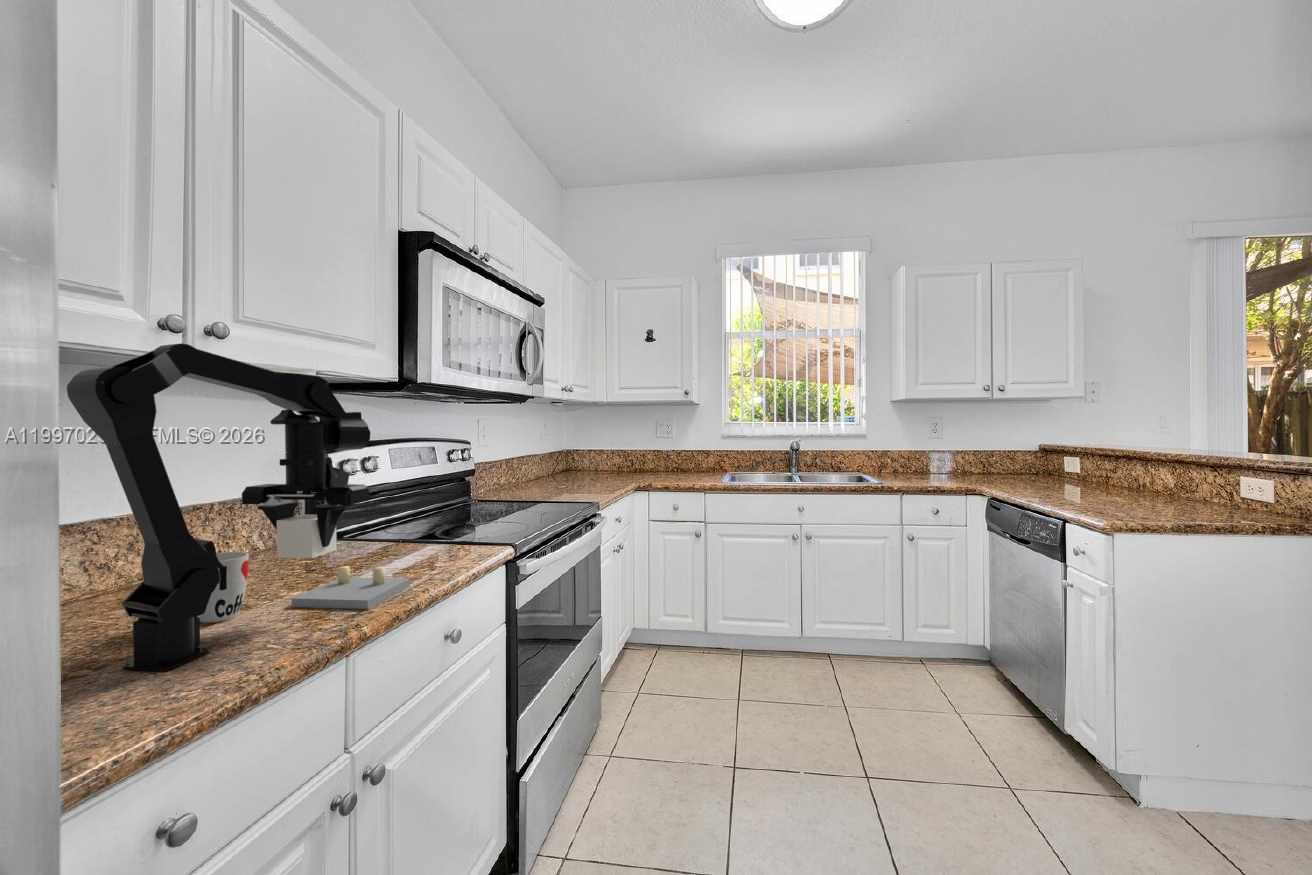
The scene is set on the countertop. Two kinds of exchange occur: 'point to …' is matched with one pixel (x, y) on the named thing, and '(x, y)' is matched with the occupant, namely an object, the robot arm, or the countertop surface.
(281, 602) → the countertop surface
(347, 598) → the plate
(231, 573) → the cup
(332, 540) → the block
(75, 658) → the countertop surface
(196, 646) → the robot arm
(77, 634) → the countertop surface
